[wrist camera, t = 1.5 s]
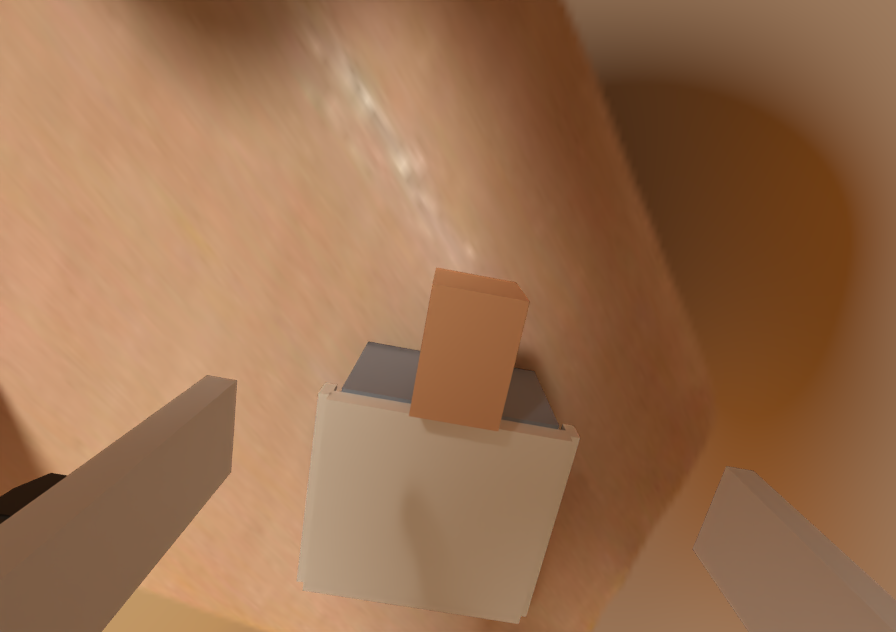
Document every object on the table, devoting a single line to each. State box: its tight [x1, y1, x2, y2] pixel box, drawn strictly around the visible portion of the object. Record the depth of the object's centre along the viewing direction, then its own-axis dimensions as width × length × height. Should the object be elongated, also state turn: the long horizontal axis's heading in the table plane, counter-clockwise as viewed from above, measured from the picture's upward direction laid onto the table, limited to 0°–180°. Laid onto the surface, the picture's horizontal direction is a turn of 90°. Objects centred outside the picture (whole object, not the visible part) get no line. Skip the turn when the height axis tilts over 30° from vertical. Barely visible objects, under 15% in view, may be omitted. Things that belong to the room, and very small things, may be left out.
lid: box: [297, 268, 580, 624], centre depth 22 cm, size 18×13×4 cm
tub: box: [342, 342, 559, 429], centre depth 27 cm, size 12×11×7 cm
